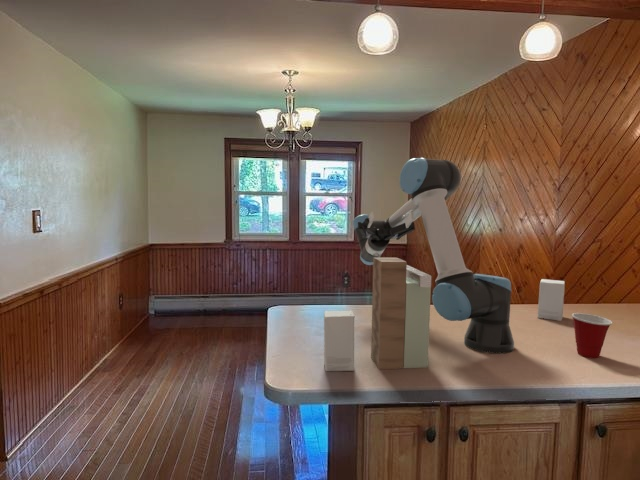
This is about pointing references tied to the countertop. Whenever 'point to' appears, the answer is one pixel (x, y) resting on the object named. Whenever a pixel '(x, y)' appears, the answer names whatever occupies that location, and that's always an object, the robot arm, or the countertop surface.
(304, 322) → the countertop surface
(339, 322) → the skincare box
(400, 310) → the block
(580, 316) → the plastic cup
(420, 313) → the sage dock
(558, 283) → the supplement box
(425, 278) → the grey bar
